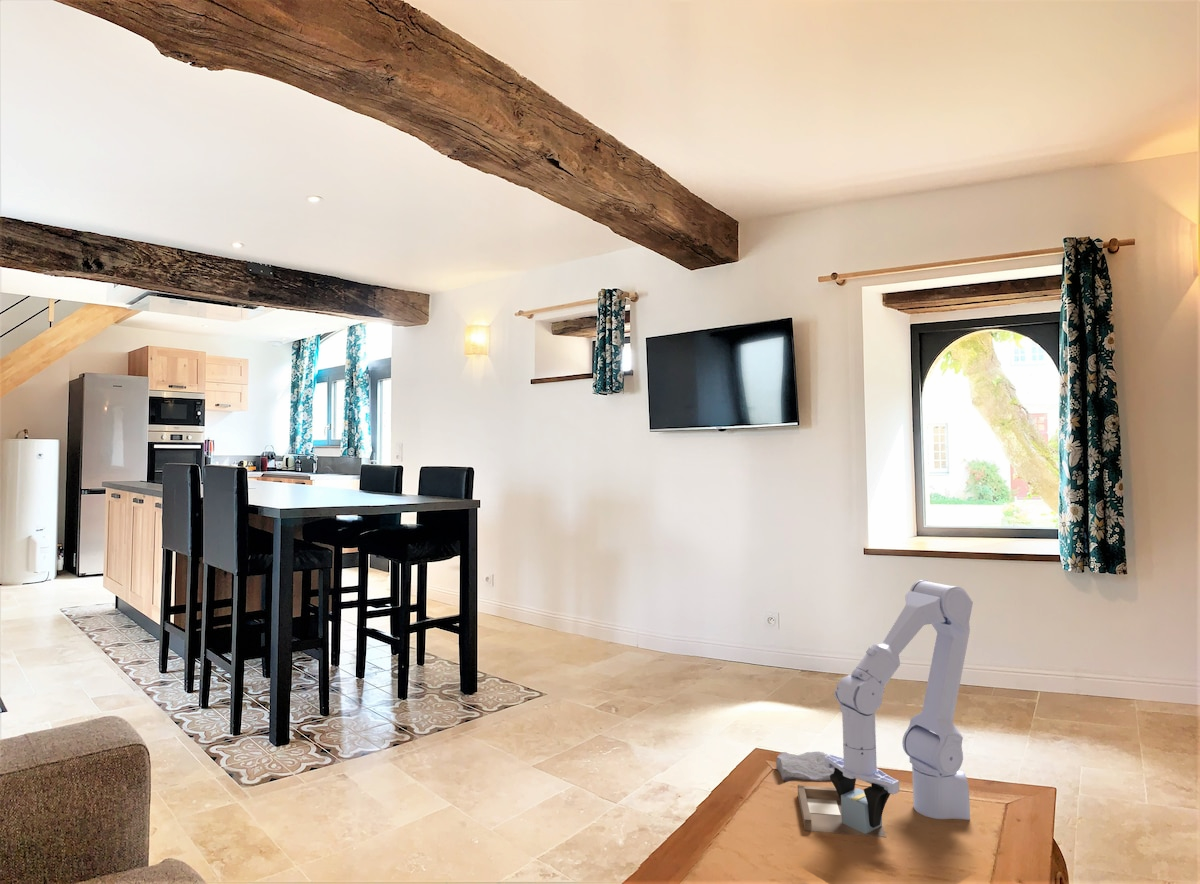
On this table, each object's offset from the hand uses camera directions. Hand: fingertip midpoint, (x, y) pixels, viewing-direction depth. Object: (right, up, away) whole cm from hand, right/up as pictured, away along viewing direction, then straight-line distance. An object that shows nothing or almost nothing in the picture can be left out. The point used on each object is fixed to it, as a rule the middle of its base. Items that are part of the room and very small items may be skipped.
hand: (861, 819), depth 129 cm
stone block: (-3, -4, +23) cm, 24 cm away
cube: (0, -1, 0) cm, 1 cm away
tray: (-3, -2, +3) cm, 5 cm away
